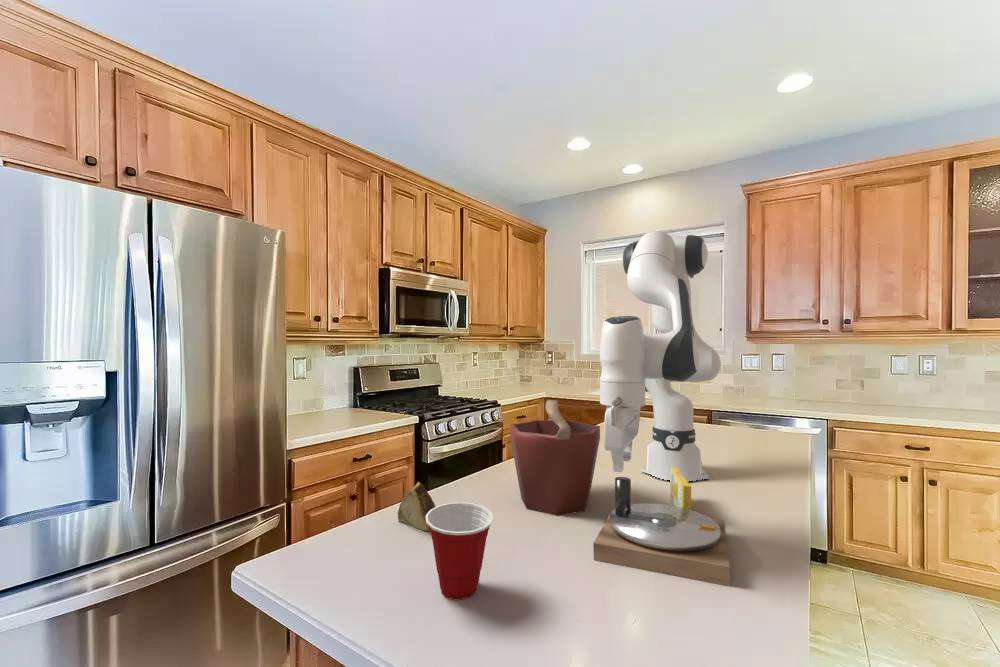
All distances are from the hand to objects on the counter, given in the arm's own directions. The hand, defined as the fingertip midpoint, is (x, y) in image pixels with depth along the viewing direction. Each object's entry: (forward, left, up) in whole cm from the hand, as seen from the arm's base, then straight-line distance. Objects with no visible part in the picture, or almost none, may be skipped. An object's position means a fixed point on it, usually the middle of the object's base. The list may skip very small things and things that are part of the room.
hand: (622, 465), depth 91 cm
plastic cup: (+30, -20, -15) cm, 39 cm away
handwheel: (0, +8, -12) cm, 14 cm away
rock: (+10, -41, -15) cm, 45 cm away
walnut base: (0, +8, -15) cm, 17 cm away
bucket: (-15, -19, -15) cm, 29 cm away
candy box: (-22, +10, -15) cm, 29 cm away
